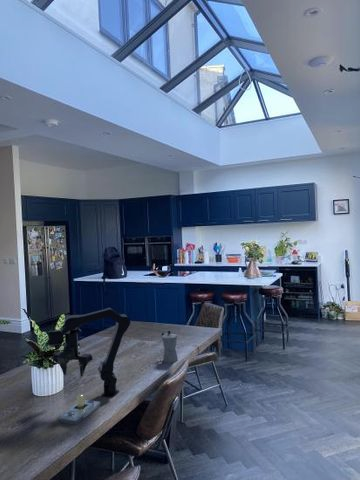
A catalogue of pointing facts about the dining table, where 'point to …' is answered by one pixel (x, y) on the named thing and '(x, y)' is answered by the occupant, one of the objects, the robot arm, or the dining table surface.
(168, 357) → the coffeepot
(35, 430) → the dining table surface
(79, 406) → the pin
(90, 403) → the slotted mounting bracket
